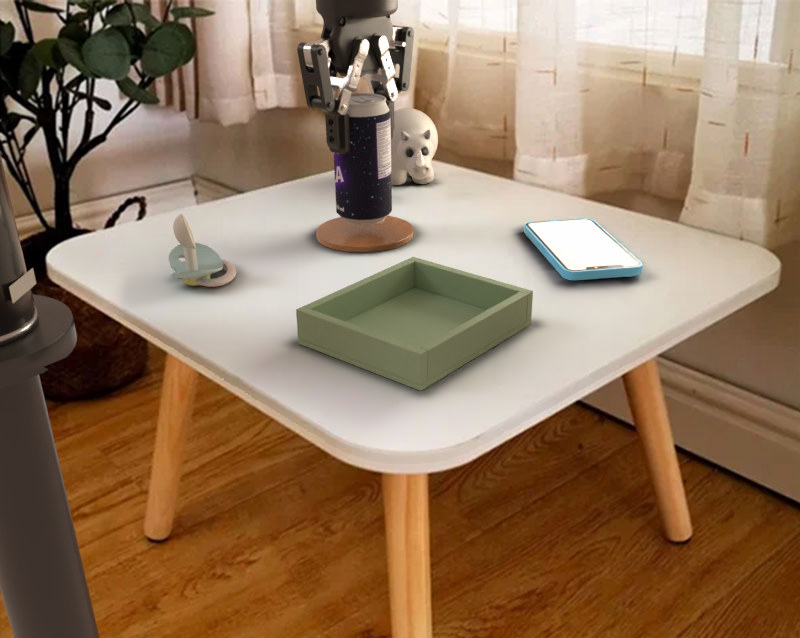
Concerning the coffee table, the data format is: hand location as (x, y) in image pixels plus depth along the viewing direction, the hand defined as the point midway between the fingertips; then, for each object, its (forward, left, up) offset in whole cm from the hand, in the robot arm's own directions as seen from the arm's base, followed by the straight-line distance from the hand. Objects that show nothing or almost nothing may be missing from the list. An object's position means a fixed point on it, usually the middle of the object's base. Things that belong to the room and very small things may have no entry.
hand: (361, 145), depth 93 cm
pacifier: (-18, +4, -10) cm, 21 cm away
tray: (-15, -19, -9) cm, 26 cm away
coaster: (0, 0, -9) cm, 9 cm away
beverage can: (0, 0, -8) cm, 8 cm away
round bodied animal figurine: (+16, +7, -10) cm, 20 cm away
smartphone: (+9, -20, -10) cm, 24 cm away
